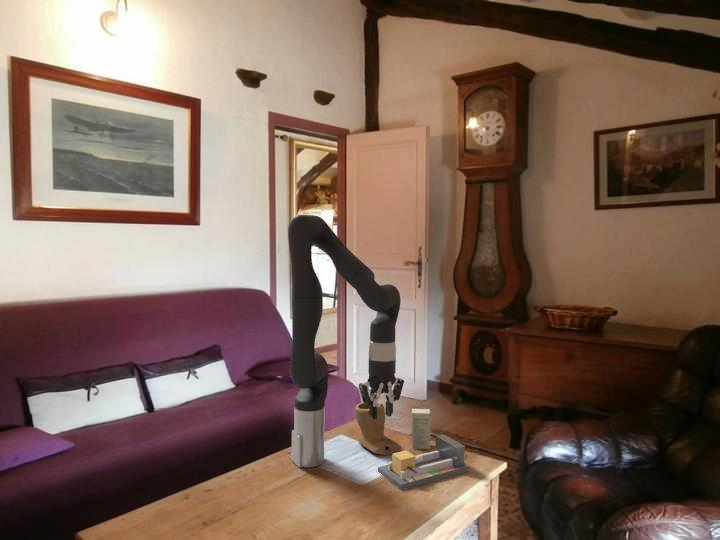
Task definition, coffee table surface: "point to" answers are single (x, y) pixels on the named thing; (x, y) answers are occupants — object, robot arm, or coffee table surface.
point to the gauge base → (422, 471)
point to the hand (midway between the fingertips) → (381, 416)
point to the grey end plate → (450, 450)
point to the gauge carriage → (404, 461)
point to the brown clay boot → (374, 430)
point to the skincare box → (420, 428)
